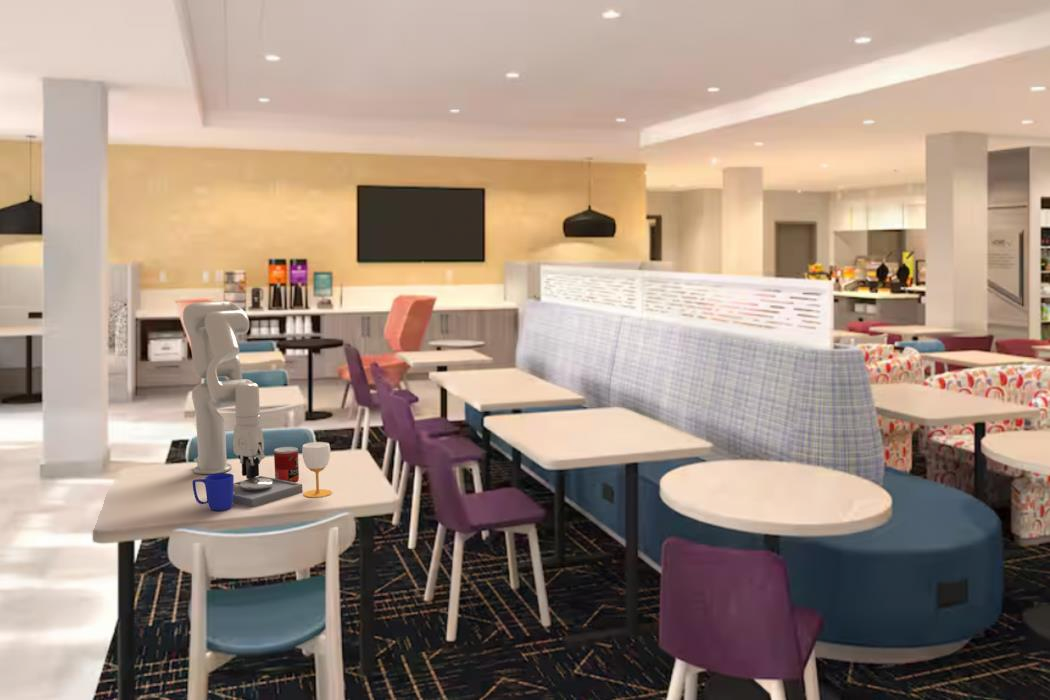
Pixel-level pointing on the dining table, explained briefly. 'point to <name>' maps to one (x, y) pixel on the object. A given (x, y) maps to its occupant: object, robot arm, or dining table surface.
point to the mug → (217, 491)
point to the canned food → (286, 464)
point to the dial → (254, 480)
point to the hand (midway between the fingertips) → (250, 475)
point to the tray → (265, 492)
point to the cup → (316, 464)
